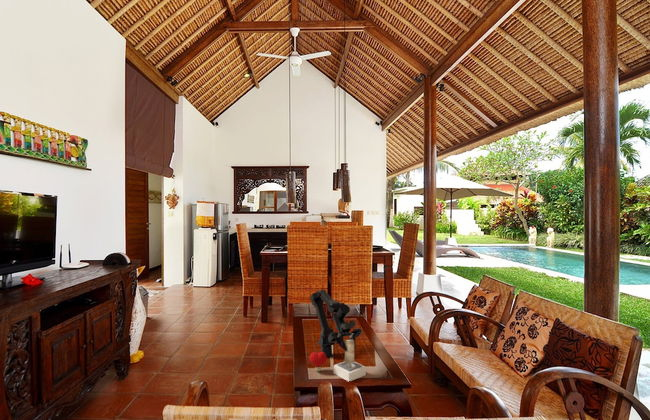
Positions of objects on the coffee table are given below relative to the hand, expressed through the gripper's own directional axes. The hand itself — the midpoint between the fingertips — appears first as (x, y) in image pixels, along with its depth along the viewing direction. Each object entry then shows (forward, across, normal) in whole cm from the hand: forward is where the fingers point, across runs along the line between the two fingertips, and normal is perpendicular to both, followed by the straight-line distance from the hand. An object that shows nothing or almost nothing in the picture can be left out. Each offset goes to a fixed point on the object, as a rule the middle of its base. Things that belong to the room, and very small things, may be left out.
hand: (350, 350), depth 176 cm
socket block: (+8, 0, +10) cm, 13 cm away
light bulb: (+1, -14, +18) cm, 22 cm away
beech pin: (+4, 0, +6) cm, 7 cm away
